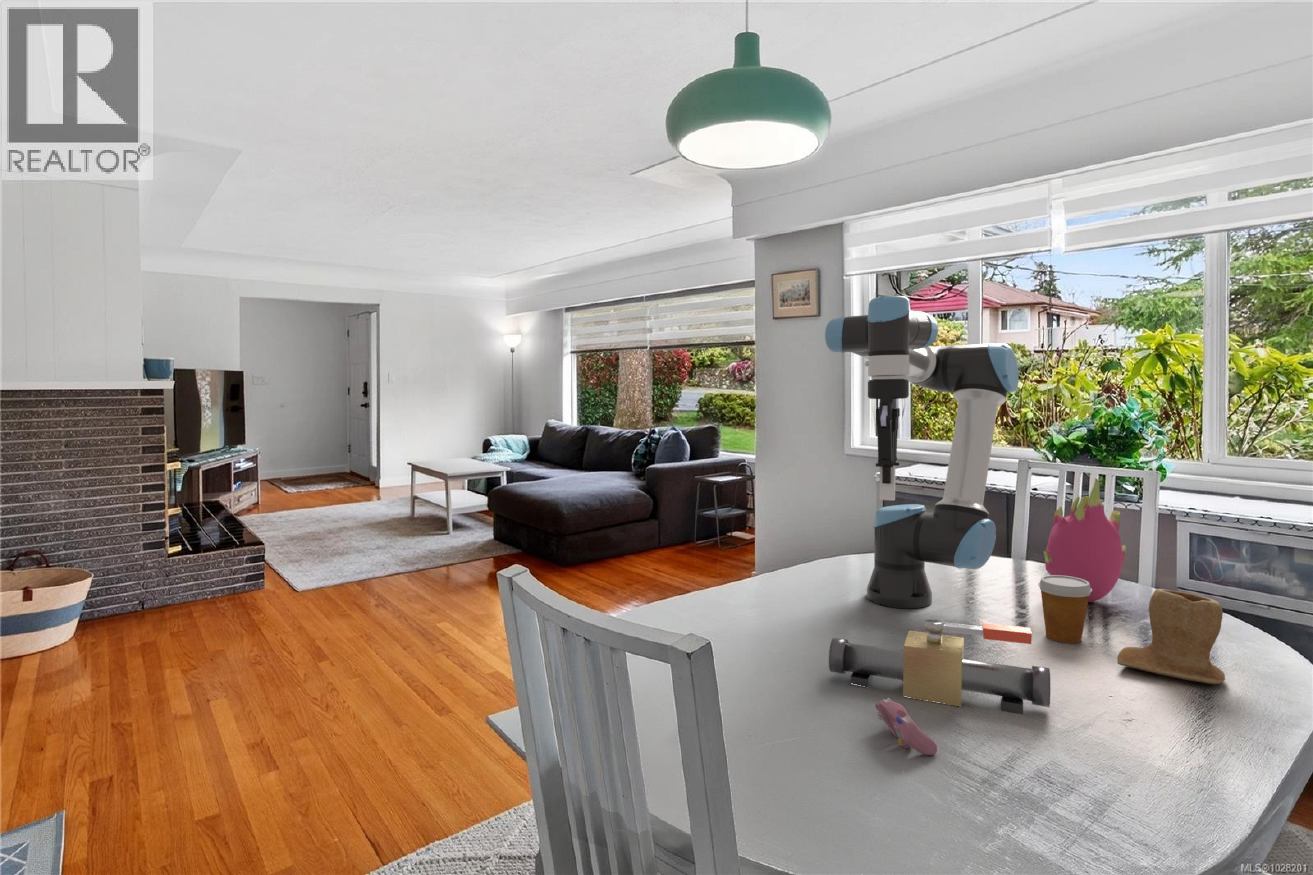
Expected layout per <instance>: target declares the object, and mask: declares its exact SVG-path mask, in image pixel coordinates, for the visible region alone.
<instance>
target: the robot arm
mask: <svg viewBox="0 0 1313 875" xmlns="http://www.w3.org/2000/svg"><path fill="white" fill-rule="evenodd" d="M867 309H868V310H867V311H868V312H867V314H863V315H849V316H846V315H845V316H842V317H835V318H832V319H831V320H829V321H828V322H827V324H826V327H825V330H824V331H825V332H824V340H825V344H826V346H827V348H828V349H829V350H830V352H833V353H842V354H843V353H852V354H854V355H856V356H857V355H858V356H860V357H862V358H864V359H867V361H865V363H864V366H865V367H868V368H867V374H868V378H871V379H869V380H868V381H867V398H868V399H870V400H879V403H878V404H879V405H878V406H879V407H878V408H875V420H876V430H877V432H876V433H877V434H876V435H877V463H875V467H878V468H879V500H880V501H895V500H896V467H897V466H898V467H899V466H900V462H899V461H897V460H898V457H897V453H898V450H897V449H898V430H899V418H900V415H901V413H900V412H901V410H900V408H899V407H897V400H898V399H902V400H903V399H908V397H909V395H910V394H909V392H910V391H909V390H910V383H911V384H914V385H917V386H919V387H922V388H925V389H928V390H930V391H931V390H932V391H936V392H941V393H952V397H953V398H954V399H955V401H956V402H957V404H958V405H957V412H956V415H955V416H956V418H955V421H954V422H955V424H954V428H953V434H952V435H953V436H952V442H951V448H950V454H949V460H948V467H947V472H946V478H945V483H944V484H945V486H944V492H943V497H942V499H941V500H939V501H938V502H936V503H935V504H934V509H933V512H926V511H927V509H926V506H925V505H924V504H916V503H915V504H914V503H913V504H912V503H911V504H896V505H890V506H889V505H888V506H882V507H880V508H879V509H877V510H876V511H875V513H874V514H875V515H874V524H873V528H874V530H873V532H874V533H873V534H874V535H873V538H874V539H873V540H874V541H873V544H874V546H873V548H874V552H873V553H874V554H873V555H874V556H873V557H874V561H873V562H874V565H873V566H874V567H873V570H872V572H871V575H870V578H869V581H868V584H867V586H866V598H867V597H868V598H867V600H869V601H870V600H871V601H870V602H872V601H873V602H872V603H874V602H875V604H876V605H880V604H882V605H881V606H884V605H885V606H884V607H889V608H894V609H895V608H897V609H919V608H923V607H927V606H929V605H931V604H932V602H933V592H932V589H931V586H930V585H931V584H930V583H929V580H928V576H927V573H926V570H925V569H926V568H925V564H926V563H929V564H930V563H931V564H935V565H936V564H937V565H942V566H949V567H953V568H957V569H960V570H961V569H968V570H978V569H980V568H982V567H984V566H985V565H986V564H987V562H988V561H989V559H990V558H991V555H992V553H993V551H994V548H995V544H996V538H997V535H996V531H997V528H996V524H995V522H994V521H993V520H991V519H989V517H990V516H989V515H990V513H989V511H988V510H987V509H986V508H985V506H984V501H985V494H986V486H987V481H988V480H987V479H988V475H989V473H988V472H989V468H990V459H991V453H992V447H993V446H992V445H993V441H994V434H995V428H996V421H997V414H998V409H999V407H1001V405H1004V404H1005V403H1006V401H1007V394H1008V393H1009V394H1011V393H1013V392H1015V391H1017V388H1018V386H1019V380H1020V379H1019V376H1020V375H1019V365H1018V360H1017V357H1016V355H1015V352H1014V350H1013V348H1012V347H1011V346H1010V345H1008V344H1007V343H1003V342H1002V343H998V342H997V343H996V342H995V343H992V342H987V343H977V344H976V343H975V344H959V345H958V344H956V345H955V344H954V345H941V346H939V345H937V346H932V344H933V343H934V342H935V341H936V339H937V337H938V333H939V326H938V322H937V320H936V319H935V317H933V316H932V315H931V314H929V313H926V312H925V311H922V310H911V306H910V300H909V298H908V297H907V296H903V295H888V296H884V295H883V296H878V297H877V296H876V297H874V298H871V299H870V301H869V303H868V308H867Z"/></svg>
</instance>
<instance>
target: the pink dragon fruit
mask: <svg viewBox="0 0 1313 875" xmlns="http://www.w3.org/2000/svg"><path fill="white" fill-rule="evenodd" d="M1100 497H1101V496H1100V481H1099V479H1098V478H1094V484H1093V487H1092V489H1091V492H1090V494H1089V496H1088V495H1083V496H1082V498H1080V496H1077V497H1076V498H1075V500H1073V503H1072V504H1071V507H1070V514H1069V515H1067V516H1064V515H1063V514H1064V511H1063V507H1062V506H1059V507H1058V509H1056V510H1055V512H1054V516H1053V527H1052V528H1051V530H1050V533H1049V537H1048V541H1047V545H1046V549H1045V550H1043V554H1044V566H1045V570H1046V572H1047V573H1048V574H1049V575H1062V576H1070V577H1076V578H1080V579H1083V580H1086V581H1088V582H1089V584H1090V588H1091V589H1092V592H1091V593H1090V595H1089V599H1088V603H1093V602H1097V601H1099V600H1101V599H1103V598H1104V597H1106V596H1107V595H1108V594H1109V593H1111V591H1112V590H1113V589H1114V587H1115V585H1116V584H1117V583H1118V580H1119V578H1120V576H1121V572H1122V568H1123V565H1124V562H1125V557H1126V553H1127V552H1126V551H1127V550H1126V549H1127V548H1126V547H1127V546H1126V545H1125V544H1122V542H1121V537H1120V536H1121V535H1120V532H1119V531H1120V522H1121V521H1120V518H1121V511H1119V510H1117V509H1115V510H1113V511H1111V514H1110V518H1109V519H1108V517H1107V516H1106V514H1105V508H1104V505H1103V502H1102V500H1101V498H1100Z"/></svg>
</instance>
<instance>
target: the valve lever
mask: <svg viewBox="0 0 1313 875" xmlns="http://www.w3.org/2000/svg"><path fill="white" fill-rule="evenodd" d="M923 624H924V627H923V628H924V630H925V631H926V632H927V631H929V632H934V633H941V632H942V633H949V634H950V633H952V634H959V635H960V634H961V635H971V636H980V637H983V640H990V641H999V642H1008V643H1015V644H1016V643H1017V644H1027V645H1032V639H1033V637H1032V634H1033V633H1032V631H1031V628H1030V627H1023V626H1013V625H1005V624H1004V625H1003V624H994V623H993V624H992V623H983V622H982V625H976V624H975V625H974V624H973V625H972V624H965V623H955V622H945V621H943V620H939V619H925V620H924V623H923Z"/></svg>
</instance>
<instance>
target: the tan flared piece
mask: <svg viewBox="0 0 1313 875" xmlns="http://www.w3.org/2000/svg"><path fill="white" fill-rule="evenodd" d="M1148 617H1149V622H1150V623H1149V624H1150V628H1151V643H1150V644H1149V645H1147V646H1144V647H1138V646H1126V647H1123V648H1122V649H1121V650H1120V651H1119V652H1118V655H1117V662H1116V664H1118V665H1120V666H1123V667H1127V668H1130V669H1131V668H1132V669H1135V670H1139V671H1142V672H1148V673H1152V674H1157V675H1160V676H1166V677H1169V678H1175V679H1179V680H1186V681H1191V682H1198V683H1202V684H1203V683H1204V684H1210V685H1211V684H1212V685H1218V684H1222V683H1223V682H1224V681H1225V680H1226V674H1225V673H1224V671H1222V669H1221V668H1219V667H1218V666H1216V665H1215V664H1213V663H1212V662H1211V660H1210V655H1211V650H1212V648H1213V646H1214V644H1215V642H1216V641H1217V639H1218V637H1219V634H1220V633H1221V628H1222V624H1223V623H1222V621H1223V606H1222V605H1221V603H1220V602H1218V601H1217V600H1215V599H1212V598H1209V597H1208V596H1207V597H1206V596H1203V595H1199V594H1196V593H1190V592H1184V591H1180V590H1179V591H1178V590H1171V589H1165V588H1156V589H1155V590H1153V593H1152V595H1151V596H1150V600H1149V603H1148Z"/></svg>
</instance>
